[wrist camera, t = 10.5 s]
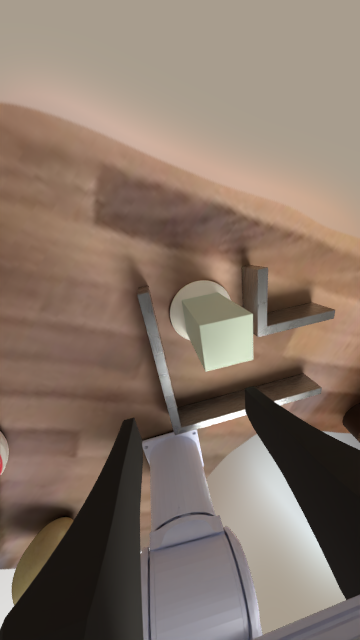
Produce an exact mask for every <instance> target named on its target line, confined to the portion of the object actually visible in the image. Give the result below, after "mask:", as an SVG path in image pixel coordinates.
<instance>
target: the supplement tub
mask: <svg viewBox="0 0 360 640" xmlns="http://www.w3.org/2000/svg"><path fill="white" fill-rule="evenodd" d="M8 456H9V448H8V443H7V441H6V439H5V437H4V435H3V434H2V432H1V431H0V475H1V474H2V472H3V471H4V469H5V467H6V464H7V461H8Z"/></svg>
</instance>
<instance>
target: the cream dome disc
mask: <svg viewBox="0 0 360 640" xmlns="http://www.w3.org/2000/svg"><path fill="white" fill-rule="evenodd" d="M217 292H218V293H220V294H221V295H223V296H224V297H226V298H228V299H229V300H231V299H230V297H229V295H228V293H227V291H226V290H225V289H224V288H223V287H222V286H220V285H219V284H217V283H215V282H212V281H207V280H199V281H194V282H191V283H189V284H187V285H186V286H184V287H183V288H181V289H180V290H179V291H178V293H177V294H176V295H175V297H174V299H173V301H172V303H171V307H170V319H171V323H172V325H173V327H174V329H175V330H176V332H177V333H178V334H179V335H181V336H182V337H184V338H186V339H188V340H190V339H189V337H188V335H187V331H186V324H185V318H184V312H183V306H182V300H184V299H189V298H193V297H198V296H203V295H208V294H213V293H217Z"/></svg>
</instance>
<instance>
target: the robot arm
mask: <svg viewBox="0 0 360 640" xmlns="http://www.w3.org/2000/svg"><path fill="white" fill-rule="evenodd" d="M245 412H246V414H247V416H248V418H249V420H250V422H251V424H252V426H253V428H254V429H255V431H256V433H257V434H258V436H259V437H260V439H261V440H262V442H263V443H264V445H265V447H266V448H267V449H268V451H269V453H270V454H271V456H272V457H273V459H274V461H275V462H276V464H277V465H278V467H279V468H280V470H281V472H282V474H283V475H284V477H285V479H286V481H287V483H288V485H289V487H290V488H291V490H292V492H293V494H294V496H295V498H296V500H297V502H298V503H299V506H300V507H301V509H302V511H303V513H304V515H305V517H306V519H307V521H308V523H309V525H310V527H311V529H312V531H313V533H314V535H315V537H316V539H317V541H318V543H319V545H320V547H321V549H322V551H323V553H324V556H325V558H326V560H327V562H328V564H329V566H330V568H331V570H332V572H333V574H334V577H335V578H336V581H337V583H338V585H339V587H340V589H341V591H342V593H343V595H344V596H345V598H346V601H343V602H341V603H339V604H336V605H334V606H332V607H329V608H327V609H324V610H322V611H319V612H317V613H314V614H312V615H310V616H307V617H305V618H303V619H300V620H298V621H295V622H293V623H290V624H288V625H286V626H283V627H281V628H278V629H276V630H274V631H271V632H269V633H267V634H264V635H263V634H262V630H261V625H260V615H259V609H258V602H257V597H256V592H255V588H254V584H253V580H252V576H251V573H250V569H249V566H248V563H247V560H246V557H245V554H244V551H243V549H242V546H241V544H240V542H239V540H238V538H237V536H236V535H235V534H234V533H233V532H232V531H231V529H230V528H229V527H227V526H225V527H223V526H222V522H221V518H220V516H219V515H218V516H216V515H215V512H214V508H213V504H212V500H211V496H210V492H209V489H208V485H207V481H206V477H205V473H204V470H203V466H204V464H203V459H202V454H201V449H200V443H199V438H198V433H197V429H196V430H192V431H189V432H185V433H182V434H178V435H175V434H174V432H172V433H168V434H165V435H161V436H158V437H154V438H151V439H147V440H144V441H143V442H142V439H141V436H140V433H139V430H138V427H137V424H136V421H135V419H134V418H131V419H127V420H124V421H123V423H122V426H121V428H120V431H119V433H118V436H117V438H116V441H115V443H114V446H113V448H112V450H111V452H110V454H109V457H108V459H107V461H106V463H105V465H104V467H103V469H102V471H101V473H100V475H99V477H98V479H97V481H96V483H95V485H94V487H93V489H92V490H91V492H90V494H89V496H88V497H87V499H86V501H85V503H84V504H83V506H82V508H81V509H80V511H79V513H78V514H77V516H76V518H75V519H74V521H73V523H72V524H71V526H70V527H69V529H68V530H67V532H66V534H65V535H64V537H63V538H62V540H61V541H60V543H59V544H58V545H57V547H56V548H55V550H54V551H53V553H52V554H51V556H50V557H49V559H48V560H47V562H46V563H45V565H44V566H43V567H42V569H41V570H40V572H39V573H38V574H37V576H36V577H35V579H34V580H33V581H32V583H31V584H30V585H29V587H28V588H27V589H26V591H25V592H24V593H23V595H22V596H21V597H20V599H19V600H18V601H17V603H16V604H15V605H14V607H13V608H12V610H11V611H10V612H9V613H8V615H7V616H6V617H5V619H4V622H3V624H2V627H1V629H0V640H360V450H358V449H356V448H354V447H352V446H350V445H347V444H345V443H343V442H341V441H339V440H337V439H335V438H333V437H331V436H329V435H327V434H325V433H324V432H322V431H320V430H318V429H316V428H315V427H313V426H311V425H309V424H308V423H306V422H304V421H303V420H301V419H300V418H298V417H296V416H295V415H293V414H292V413H290V412H289V411H287V410H286V409H284V408H283V407H281V406H280V405H279V404H277V403H276V402H274V401H273V400H272V399H270V398H269V397H267V396H266V395H265V394H263V393H262V392H261V391H259V390H258V389H257V388H255V387H254V386H253V387H249V388H245ZM142 447H143V450H144V453H145V455H146V458H147V460H148V463H149V466H150V493H151V532H150V551H149V546H148V547H144V548H143V550H142V553H141V554H140V500H141V483H142V465H143V450H142Z"/></svg>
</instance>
